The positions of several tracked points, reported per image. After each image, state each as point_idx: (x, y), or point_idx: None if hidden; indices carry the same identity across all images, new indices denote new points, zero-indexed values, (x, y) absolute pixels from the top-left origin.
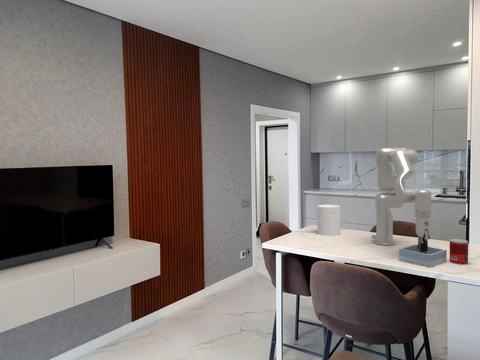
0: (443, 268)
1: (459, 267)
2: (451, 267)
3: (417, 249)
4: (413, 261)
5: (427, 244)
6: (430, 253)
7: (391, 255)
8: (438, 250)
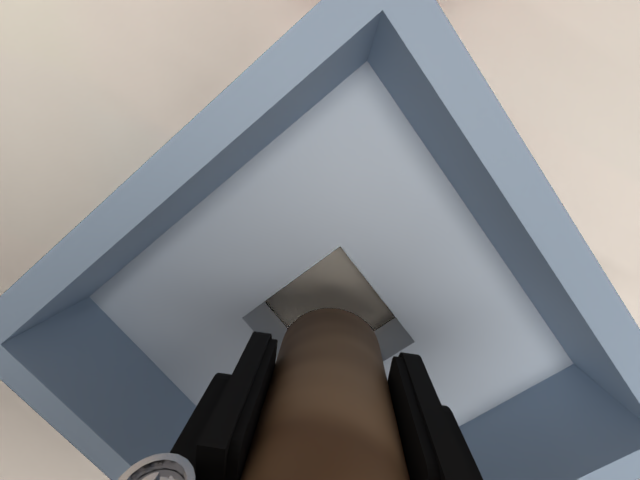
0: (622, 223)
1: (630, 5)
2: (607, 111)
3: (74, 301)
4: None
5: (461, 461)
6: (217, 184)
7: None
8: (298, 92)
